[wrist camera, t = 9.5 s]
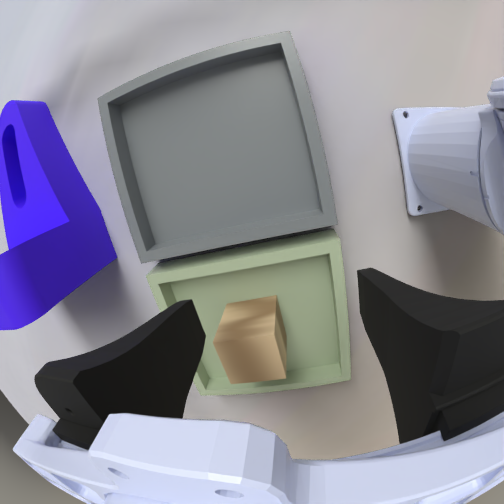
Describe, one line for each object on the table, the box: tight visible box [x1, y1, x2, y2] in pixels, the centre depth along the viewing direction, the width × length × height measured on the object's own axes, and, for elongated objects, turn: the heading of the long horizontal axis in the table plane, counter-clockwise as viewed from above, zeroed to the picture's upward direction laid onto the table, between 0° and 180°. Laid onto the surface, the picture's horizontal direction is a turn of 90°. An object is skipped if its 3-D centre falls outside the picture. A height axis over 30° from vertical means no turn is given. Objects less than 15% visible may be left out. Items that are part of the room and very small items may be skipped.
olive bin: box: [146, 229, 351, 395], centre depth 22 cm, size 14×13×2 cm
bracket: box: [0, 100, 117, 330], centre depth 15 cm, size 18×11×12 cm, turn 15°
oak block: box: [213, 295, 287, 384], centre depth 20 cm, size 4×4×5 cm
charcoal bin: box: [98, 31, 338, 264], centre depth 17 cm, size 14×13×2 cm
